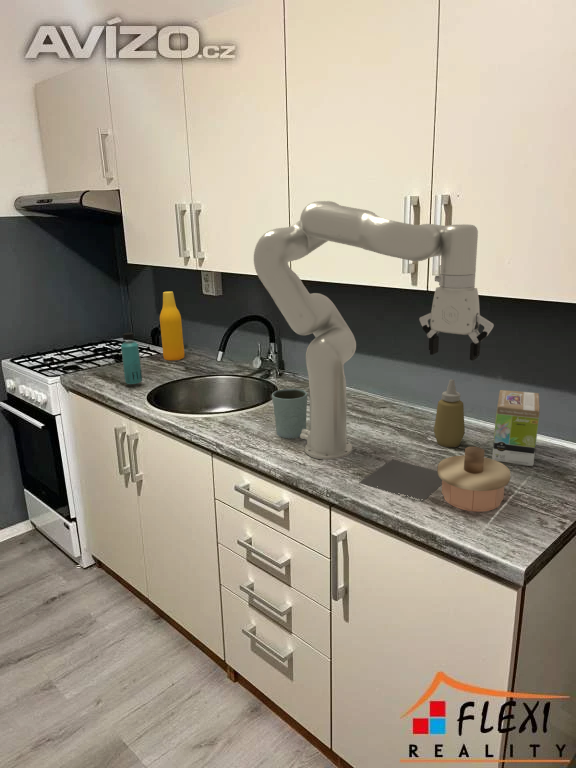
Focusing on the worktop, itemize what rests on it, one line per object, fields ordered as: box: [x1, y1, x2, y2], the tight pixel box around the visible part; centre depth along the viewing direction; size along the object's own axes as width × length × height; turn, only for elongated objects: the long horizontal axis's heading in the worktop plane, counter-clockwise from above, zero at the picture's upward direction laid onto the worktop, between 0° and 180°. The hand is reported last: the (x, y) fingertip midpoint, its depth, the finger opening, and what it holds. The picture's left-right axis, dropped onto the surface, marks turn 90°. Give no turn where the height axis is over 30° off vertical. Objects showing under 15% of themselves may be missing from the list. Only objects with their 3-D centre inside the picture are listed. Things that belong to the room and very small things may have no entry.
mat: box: [359, 458, 442, 502], centre depth 138 cm, size 16×16×1 cm
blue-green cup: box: [271, 388, 308, 439], centre depth 168 cm, size 10×10×12 cm
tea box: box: [491, 389, 541, 467], centre depth 149 cm, size 15×10×15 cm, turn 158°
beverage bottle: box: [120, 332, 143, 385], centre depth 217 cm, size 6×7×20 cm
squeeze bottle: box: [433, 379, 466, 449], centre depth 155 cm, size 8×8×18 cm
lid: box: [436, 446, 511, 491], centre depth 126 cm, size 15×15×6 cm
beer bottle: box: [159, 291, 185, 362], centre depth 254 cm, size 9×9×29 cm
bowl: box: [441, 480, 506, 513], centre depth 128 cm, size 12×12×6 cm
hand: (453, 356), depth 136 cm, fingers open, 9 cm apart
